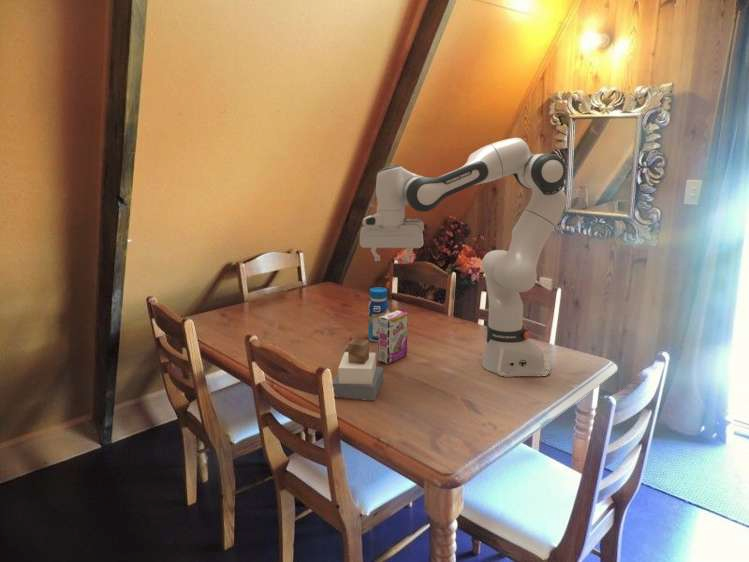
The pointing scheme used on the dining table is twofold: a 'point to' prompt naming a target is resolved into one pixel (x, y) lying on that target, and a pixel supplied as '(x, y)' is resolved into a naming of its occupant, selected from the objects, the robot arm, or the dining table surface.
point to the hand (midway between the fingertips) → (391, 261)
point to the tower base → (359, 387)
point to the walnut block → (358, 351)
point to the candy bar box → (392, 336)
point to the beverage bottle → (376, 310)
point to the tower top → (357, 371)
